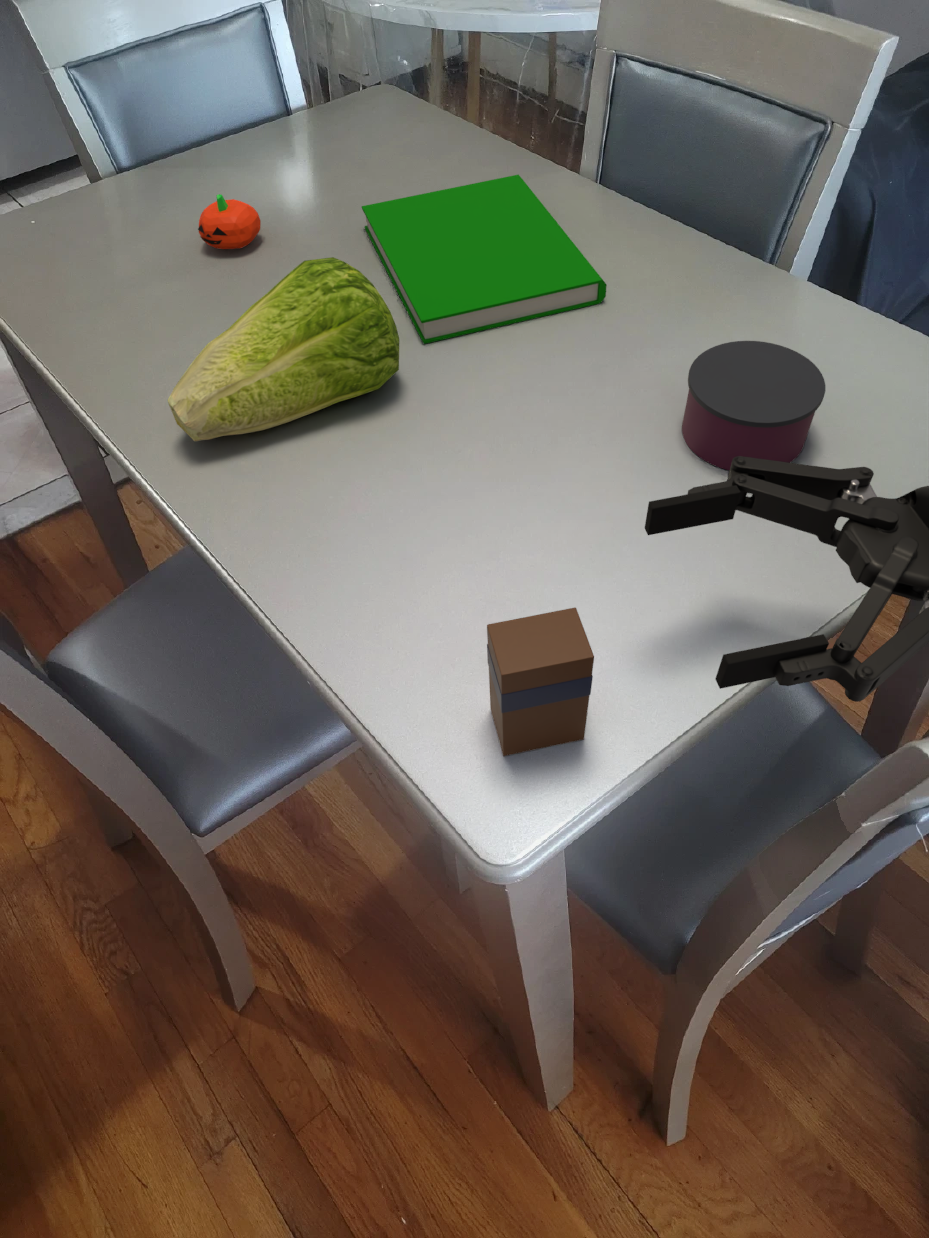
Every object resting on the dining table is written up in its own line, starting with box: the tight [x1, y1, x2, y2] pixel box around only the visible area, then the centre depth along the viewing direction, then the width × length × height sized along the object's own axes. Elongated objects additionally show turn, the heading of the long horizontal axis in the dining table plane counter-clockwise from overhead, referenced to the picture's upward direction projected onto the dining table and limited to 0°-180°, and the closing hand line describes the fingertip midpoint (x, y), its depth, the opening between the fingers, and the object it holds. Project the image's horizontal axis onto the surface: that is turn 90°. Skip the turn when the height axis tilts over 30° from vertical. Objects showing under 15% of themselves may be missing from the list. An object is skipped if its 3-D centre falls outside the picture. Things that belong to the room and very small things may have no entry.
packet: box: [486, 607, 595, 757], centre depth 63 cm, size 6×4×11 cm
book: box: [361, 174, 607, 345], centre depth 108 cm, size 22×28×3 cm
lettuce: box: [167, 256, 400, 442], centre depth 89 cm, size 14×24×14 cm
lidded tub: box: [681, 340, 826, 471], centre depth 85 cm, size 13×13×6 cm
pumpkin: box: [197, 193, 262, 250], centre depth 112 cm, size 7×8×6 cm
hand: (681, 590), depth 58 cm, fingers open, 13 cm apart
